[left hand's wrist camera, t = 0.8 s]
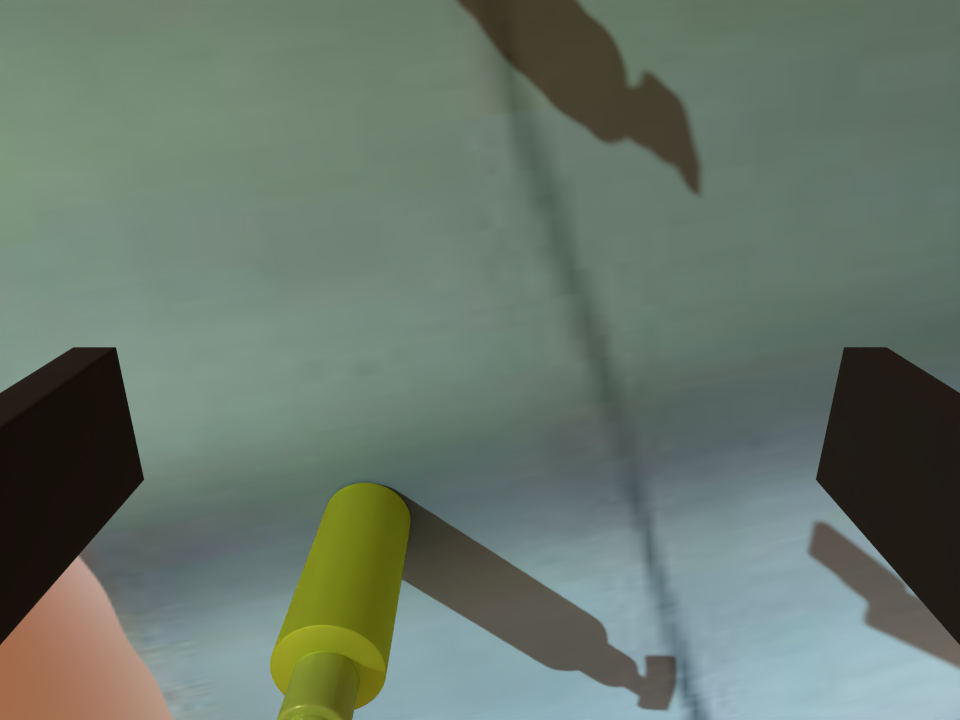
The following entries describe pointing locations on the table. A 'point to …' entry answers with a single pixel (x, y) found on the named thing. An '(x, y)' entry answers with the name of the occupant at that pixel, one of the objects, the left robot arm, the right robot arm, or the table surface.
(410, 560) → the table surface
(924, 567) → the left robot arm
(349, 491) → the soap dispenser
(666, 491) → the table surface
